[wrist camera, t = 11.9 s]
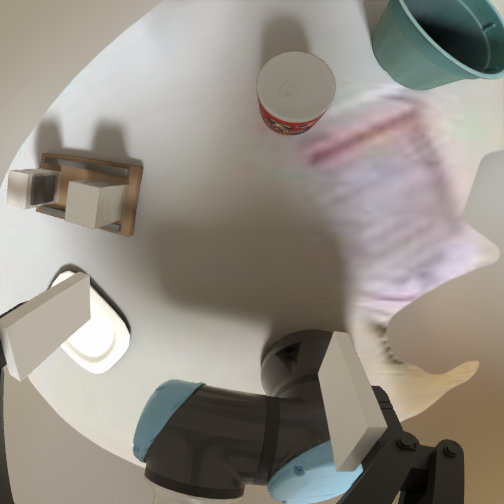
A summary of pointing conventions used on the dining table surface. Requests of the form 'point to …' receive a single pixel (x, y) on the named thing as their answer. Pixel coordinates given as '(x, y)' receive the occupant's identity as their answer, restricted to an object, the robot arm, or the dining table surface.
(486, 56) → the flower pot
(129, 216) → the rail board
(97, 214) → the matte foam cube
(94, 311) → the plate
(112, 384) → the dining table surface
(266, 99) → the canned food
